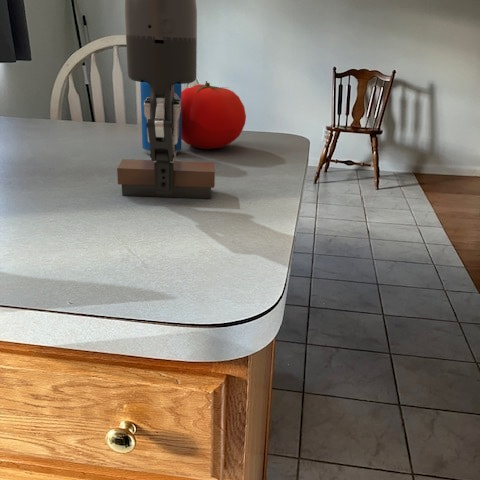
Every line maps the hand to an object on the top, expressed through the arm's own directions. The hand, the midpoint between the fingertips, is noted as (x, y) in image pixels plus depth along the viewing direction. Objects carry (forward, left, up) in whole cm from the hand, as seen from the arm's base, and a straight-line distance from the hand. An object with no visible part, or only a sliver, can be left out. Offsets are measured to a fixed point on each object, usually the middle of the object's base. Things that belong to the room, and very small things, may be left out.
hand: (164, 193), depth 66 cm
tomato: (+6, +34, -1) cm, 35 cm away
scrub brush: (0, +5, -1) cm, 5 cm away
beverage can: (-2, +28, -1) cm, 28 cm away
